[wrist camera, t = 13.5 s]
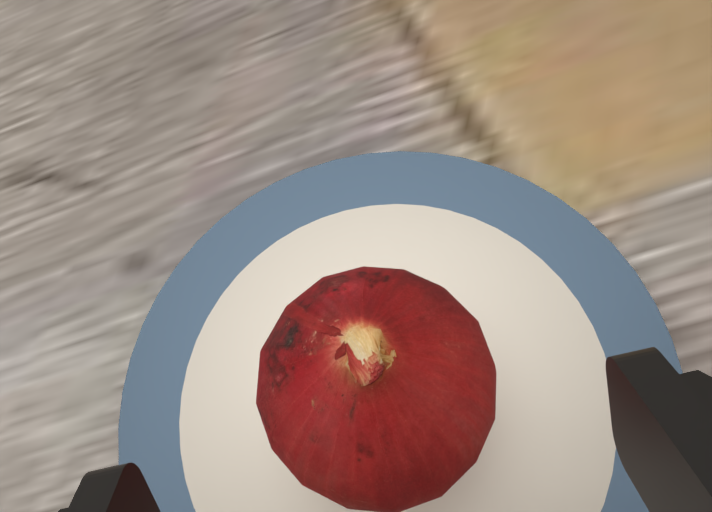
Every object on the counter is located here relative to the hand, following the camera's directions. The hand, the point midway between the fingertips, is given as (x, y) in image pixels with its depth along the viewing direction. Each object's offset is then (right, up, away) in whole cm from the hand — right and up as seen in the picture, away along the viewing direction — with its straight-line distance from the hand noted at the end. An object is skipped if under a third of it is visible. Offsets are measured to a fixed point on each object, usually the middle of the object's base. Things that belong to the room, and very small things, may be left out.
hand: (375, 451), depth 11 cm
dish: (+1, -2, +11) cm, 11 cm away
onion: (+1, -1, +9) cm, 9 cm away
